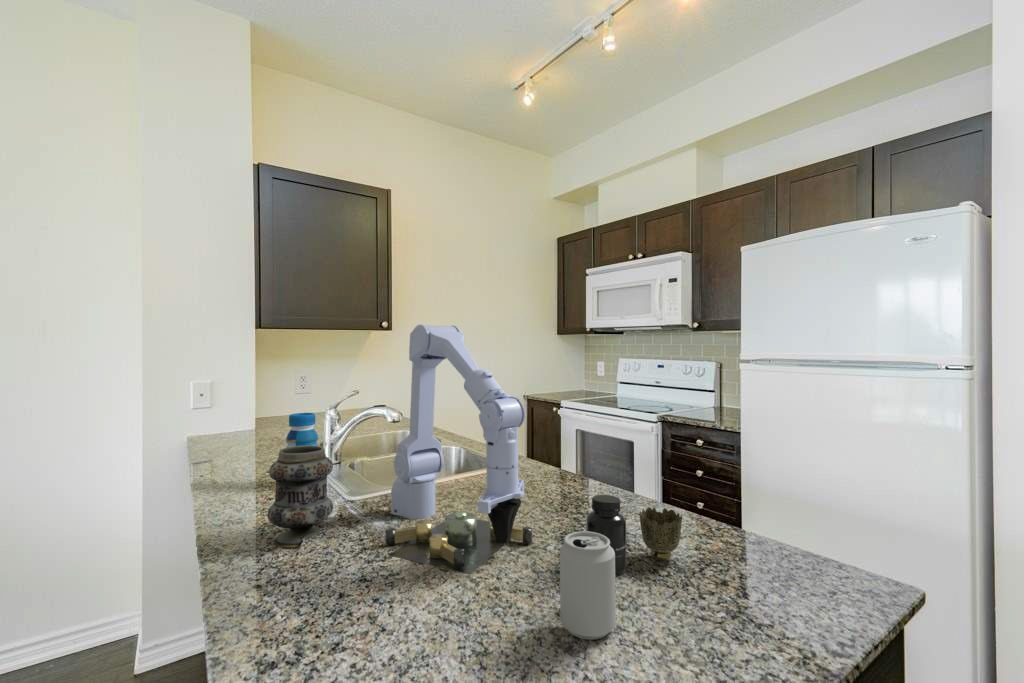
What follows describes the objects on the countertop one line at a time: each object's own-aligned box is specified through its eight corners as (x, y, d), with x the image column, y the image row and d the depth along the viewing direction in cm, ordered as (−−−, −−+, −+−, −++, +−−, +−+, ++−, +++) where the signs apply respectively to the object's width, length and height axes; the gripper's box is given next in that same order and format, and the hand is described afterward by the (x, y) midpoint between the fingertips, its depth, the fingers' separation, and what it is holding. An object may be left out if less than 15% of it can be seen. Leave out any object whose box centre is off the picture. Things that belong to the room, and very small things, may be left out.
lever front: (426, 554, 84) (426, 537, 85) (441, 548, 87) (441, 532, 87) (454, 570, 78) (454, 552, 78) (469, 564, 80) (469, 547, 80)
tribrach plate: (387, 561, 85) (387, 525, 85) (454, 520, 105) (454, 491, 105) (469, 581, 78) (469, 542, 78) (524, 533, 97) (524, 502, 97)
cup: (682, 552, 88) (682, 509, 88) (683, 570, 81) (682, 523, 81) (641, 547, 90) (640, 505, 91) (638, 563, 83) (637, 518, 84)
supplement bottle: (627, 579, 78) (626, 506, 78) (585, 575, 79) (584, 503, 79) (625, 561, 85) (625, 493, 85) (587, 557, 86) (586, 491, 86)
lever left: (430, 534, 93) (430, 519, 93) (433, 540, 90) (433, 525, 90) (385, 540, 90) (385, 525, 90) (386, 547, 87) (386, 531, 87)
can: (555, 612, 68) (555, 529, 68) (606, 610, 69) (606, 527, 69) (566, 645, 61) (565, 551, 61) (623, 641, 61) (622, 548, 62)
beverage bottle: (310, 490, 128) (310, 416, 128) (279, 490, 128) (279, 416, 128) (323, 481, 136) (323, 412, 136) (294, 481, 136) (294, 412, 137)
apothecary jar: (345, 532, 99) (345, 445, 99) (297, 555, 88) (297, 457, 88) (304, 523, 104) (304, 441, 104) (253, 544, 93) (253, 452, 93)
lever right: (487, 538, 91) (486, 522, 91) (494, 532, 94) (494, 517, 94) (528, 546, 88) (528, 529, 88) (535, 539, 91) (535, 523, 91)
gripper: (504, 477, 77) (504, 562, 77) (538, 458, 90) (538, 530, 90) (466, 473, 80) (467, 554, 80) (504, 455, 93) (505, 525, 93)
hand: (502, 541), depth 85 cm, fingers closed
